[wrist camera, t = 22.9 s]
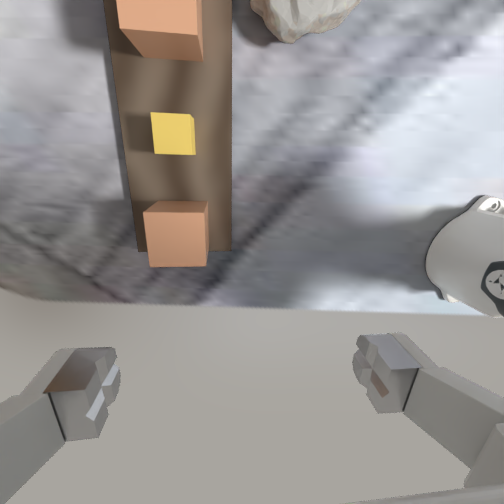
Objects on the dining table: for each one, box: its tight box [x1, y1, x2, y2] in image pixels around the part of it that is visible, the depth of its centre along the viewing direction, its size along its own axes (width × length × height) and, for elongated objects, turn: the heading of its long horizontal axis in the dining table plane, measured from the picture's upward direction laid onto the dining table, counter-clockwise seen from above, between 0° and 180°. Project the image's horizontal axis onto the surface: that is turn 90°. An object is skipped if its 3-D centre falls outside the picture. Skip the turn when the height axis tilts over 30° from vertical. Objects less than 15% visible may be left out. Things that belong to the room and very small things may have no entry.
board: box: [103, 0, 232, 252], centre depth 31 cm, size 13×32×1 cm, turn 178°
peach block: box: [116, 0, 203, 62], centre depth 24 cm, size 6×6×7 cm
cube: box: [151, 112, 196, 155], centre depth 29 cm, size 4×4×4 cm
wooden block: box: [143, 201, 209, 267], centre depth 32 cm, size 6×6×7 cm
